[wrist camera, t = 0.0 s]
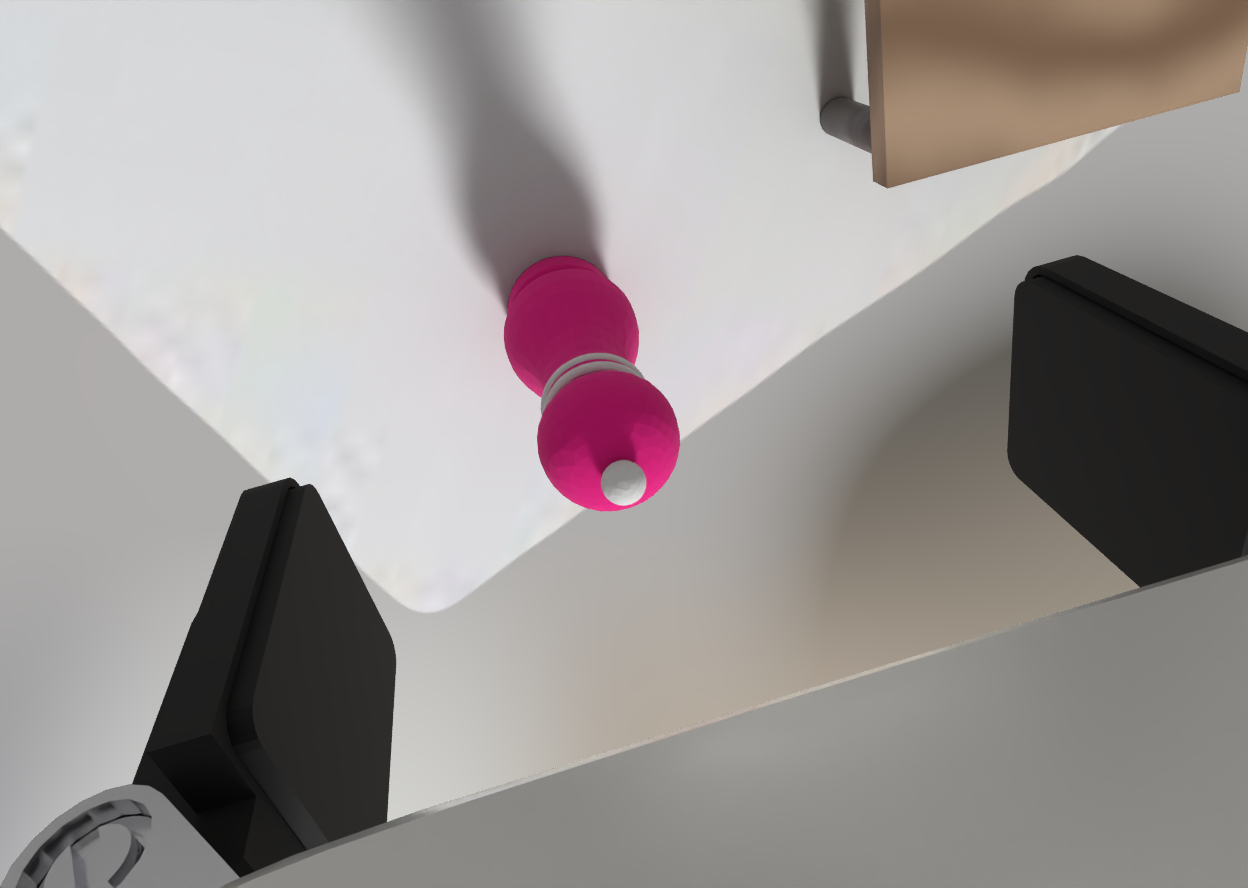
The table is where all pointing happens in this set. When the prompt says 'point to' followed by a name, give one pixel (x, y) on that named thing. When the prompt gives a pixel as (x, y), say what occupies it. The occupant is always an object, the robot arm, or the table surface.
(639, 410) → the pepper mill
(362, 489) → the table surface
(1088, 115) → the peg shelf
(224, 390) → the table surface
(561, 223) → the table surface
